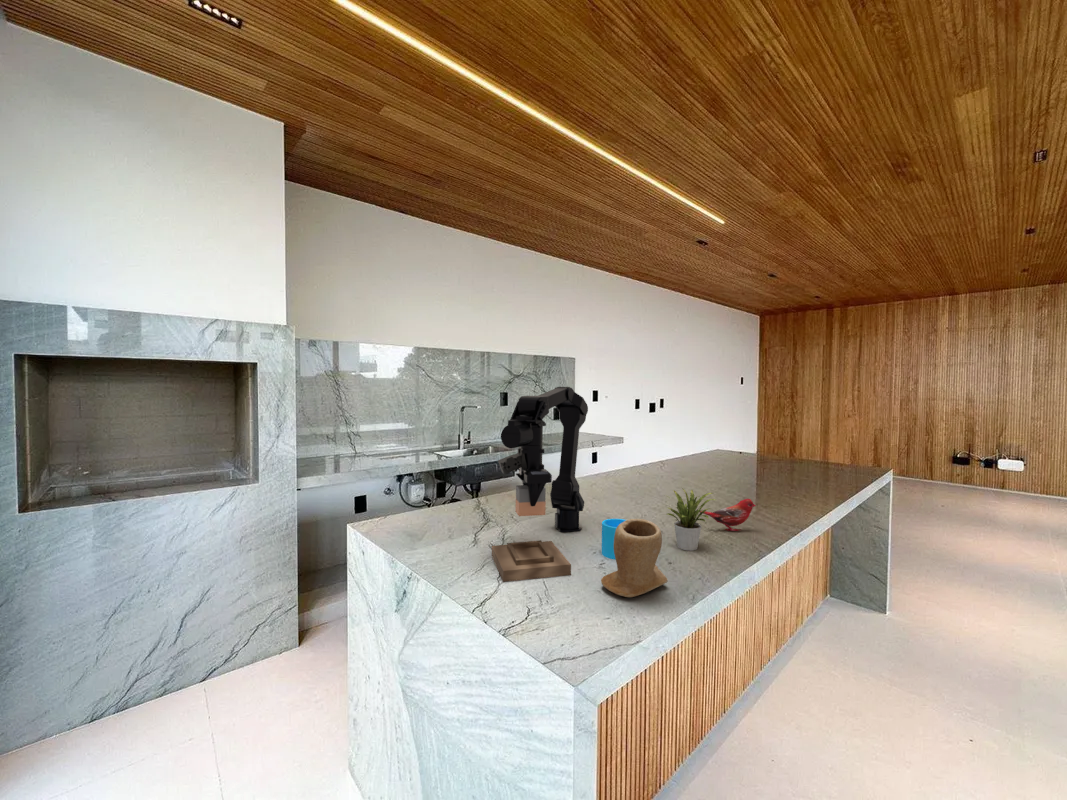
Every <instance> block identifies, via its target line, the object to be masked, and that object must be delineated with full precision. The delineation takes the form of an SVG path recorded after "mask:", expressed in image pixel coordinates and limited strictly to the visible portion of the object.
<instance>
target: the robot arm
mask: <svg viewBox="0 0 1067 800" xmlns="http://www.w3.org/2000/svg"><path fill="white" fill-rule="evenodd" d="M552 408H555V409H556V410H557V411H558V417H559V421H560V423H561V425H562V426H563V427H562V430H563V431H562V439H561V441H562V442H561V449H560V459H559V460H560V462H559V472H558V475H557V477H556V478H555V479H554V480H553V479H552V478H553V477H552V476H553V475H552V473H551V472H549V470H547V469H545V464H543V454H545V448H543V432H544V431H543V429H544V427H546V426H547V423H546V421H544V418H545V417H546V416H548V414H549V413H550V409H552ZM588 411H589V406H588V404H587V401H586V400H585V399H584V397H583V396H581V395H580V394H579V393H577V392H575V391H574V389H573V387H570V386H557V387H554V388H553V389H550V390H548V391H546V392H543V393H541V394H538V395H522V396H520V397H519V398H518V400H517V402H516V405H515V407H514V410H513V412H512V415H511V417H510V419H509V420H507V425H505V426H504V427H503V429H502V430H501V433H500V440H501V443H502V444H503V445H504V446H505V447H506V448H508V449H515V448H517V452H516V453H514V454H511V455H509V456H508V455H507V456H506V457H503V458H500V459H498V460H497V461H498V464H499V467H500V471H501V473H502V474H503V475H507V474H510V472H515V475H516V476H517V478H518V479H520V480H521V483H522V485H527V486H528V492H529V499H530V505H531V506H535V505H536V503H537V500H538V498H539V496H540V494H541V492H542V490H543V488H544V487H545V486H546V484H551V489H550V497H549V498H550V502H551V503H550V504H551V508H552V509H556V512H555V513H554V527H555V528H556V529H557V530H558V531H559V532H560V533H565V532H566V533H567V532H569V533H570V532H581V530H582V528H581V527H580V512H583V510H584V507H585V500H584V499H583V497H582V495H581V493H580V484H579V482H578V480H577V477H576V472H577V471H576V467H577V460H578V459H577V457H578V449H579V436H580V429H581V428H582V426H583V425H584V424H585V423H586V417H587V414H588ZM517 472H518V473H517Z"/></svg>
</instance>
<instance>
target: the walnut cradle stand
mask: <svg viewBox="0 0 1067 800" xmlns="http://www.w3.org/2000/svg"><path fill="white" fill-rule="evenodd" d="M491 557H492V560H493V561H494V564H495V566H496V569H497V571H498V573H499V576H500V578H501V580H502V582H503V583H505V582H514V581H515V582H516V581H526V580H534V579H535V580H536V579H546V578H553V577H555V578H556V577H563V576H571V575H572V564H571V563H570V561H569V560H568V559H567V558H566V557H565V556H564V554H563V552H561V550H560V549H559V548H558V547H557V546H556V545H555V544H554V542H553V541H552V540H547V541H546V540H545V541H543V540H529V541H519V542H517V541H516V542H507V543H506V544H499V545H491Z"/></svg>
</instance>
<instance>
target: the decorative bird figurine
mask: <svg viewBox="0 0 1067 800" xmlns="http://www.w3.org/2000/svg"><path fill="white" fill-rule="evenodd" d="M754 507H756V505H755V503H754V502H753V501H752V499H751V498H744V499H742V500H740V501H739V502H738V503H736V504H734V505H732V506H728V507H723V508H721V509H718V510H715V511H713V512H712V511H711V512H710V511H707V510H706V511H705V513H703V514H702V515H707V516H708V517H711V518H712V519H713V520H715V522H716V523H720V524H722V525H724V526H725V527H726V528H724V531H729V532H736V531H742V529H740V528H739V529H737V528H733V527H737V526H740V525H742V524H743V523H745V522H746V521H747V520H748V519H749V517H750V515H751V512H752V511H753V509H754ZM702 511H703V510H701V511H700V512H699V514H700V513H701V512H702Z"/></svg>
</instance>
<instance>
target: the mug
mask: <svg viewBox="0 0 1067 800" xmlns="http://www.w3.org/2000/svg"><path fill="white" fill-rule="evenodd" d="M626 520H627V519H623V518H607V519H604V520H603V521H602V522H601V555H602V556H603V557H604V558H607V559H610V560H615V561H616V559H615V555H614V536H615V531H616V528H617V527H618V525H619V524H621V523H622V522H624V521H626Z"/></svg>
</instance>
